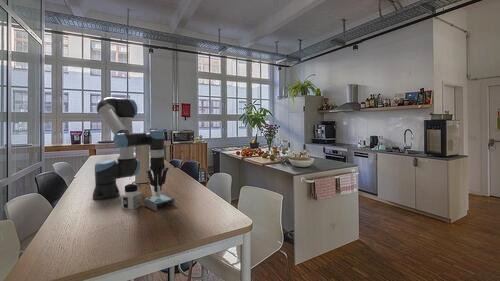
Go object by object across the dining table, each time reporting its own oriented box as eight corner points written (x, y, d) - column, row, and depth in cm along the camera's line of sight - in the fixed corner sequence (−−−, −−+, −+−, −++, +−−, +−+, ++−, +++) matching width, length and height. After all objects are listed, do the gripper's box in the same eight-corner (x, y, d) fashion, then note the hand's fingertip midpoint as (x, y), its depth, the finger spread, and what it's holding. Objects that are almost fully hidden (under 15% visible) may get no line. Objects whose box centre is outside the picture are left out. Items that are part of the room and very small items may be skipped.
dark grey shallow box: (144, 205, 142) (143, 197, 142) (162, 200, 151) (162, 193, 150) (155, 211, 133) (155, 203, 132) (175, 205, 141) (174, 198, 141)
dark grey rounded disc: (149, 205, 142) (149, 200, 142) (161, 202, 147) (160, 197, 147) (154, 208, 137) (154, 203, 137) (166, 205, 142) (166, 200, 142)
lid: (145, 199, 142) (145, 197, 141) (163, 195, 150) (163, 193, 150) (155, 204, 133) (155, 202, 133) (173, 199, 141) (173, 197, 141)
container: (133, 209, 135) (132, 186, 134) (121, 208, 137) (120, 186, 136) (142, 205, 143) (141, 183, 142) (130, 204, 144) (129, 182, 143)
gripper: (149, 158, 132) (150, 201, 134) (171, 156, 141) (171, 195, 143) (143, 157, 137) (144, 198, 139) (164, 154, 146) (165, 193, 148)
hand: (158, 196), depth 141 cm, fingers closed
